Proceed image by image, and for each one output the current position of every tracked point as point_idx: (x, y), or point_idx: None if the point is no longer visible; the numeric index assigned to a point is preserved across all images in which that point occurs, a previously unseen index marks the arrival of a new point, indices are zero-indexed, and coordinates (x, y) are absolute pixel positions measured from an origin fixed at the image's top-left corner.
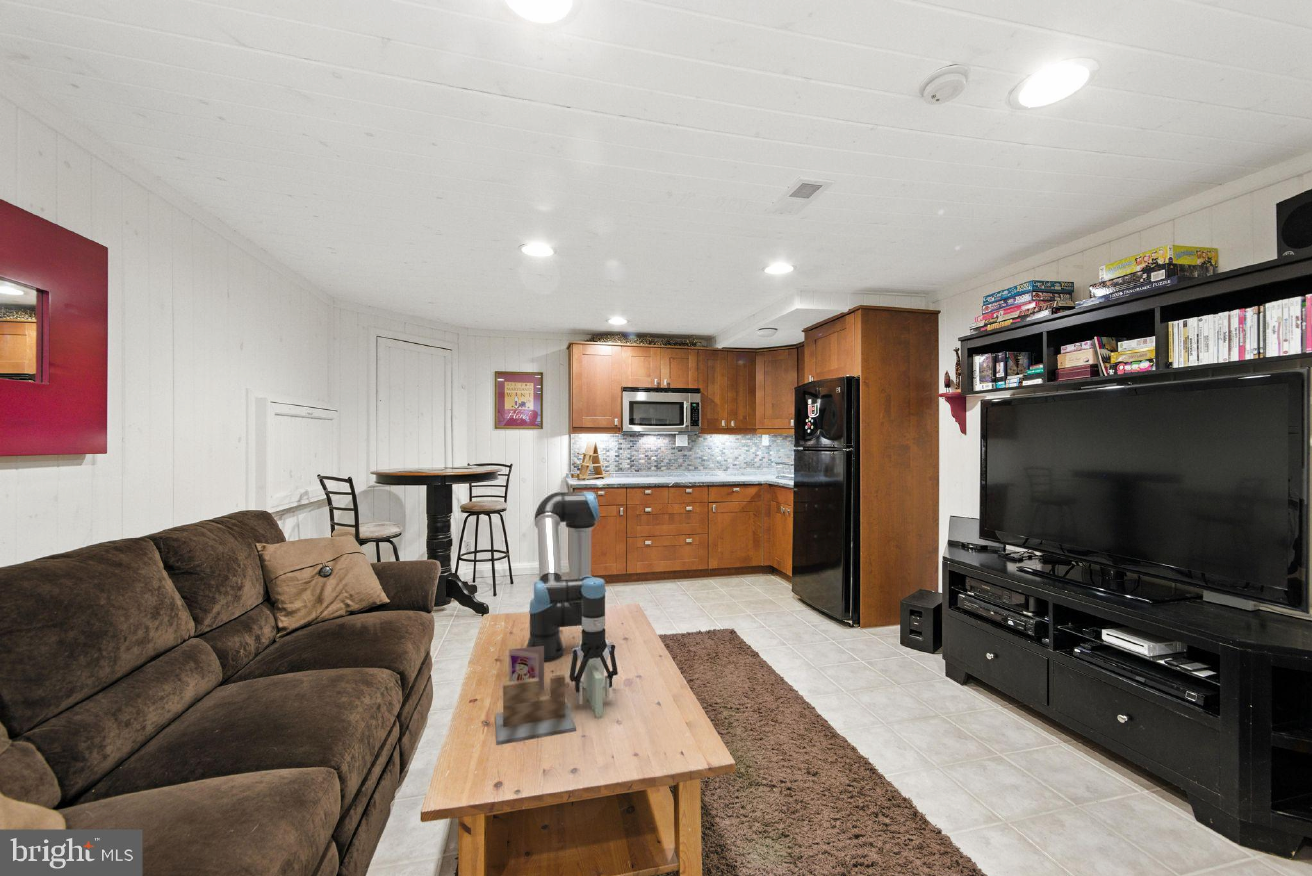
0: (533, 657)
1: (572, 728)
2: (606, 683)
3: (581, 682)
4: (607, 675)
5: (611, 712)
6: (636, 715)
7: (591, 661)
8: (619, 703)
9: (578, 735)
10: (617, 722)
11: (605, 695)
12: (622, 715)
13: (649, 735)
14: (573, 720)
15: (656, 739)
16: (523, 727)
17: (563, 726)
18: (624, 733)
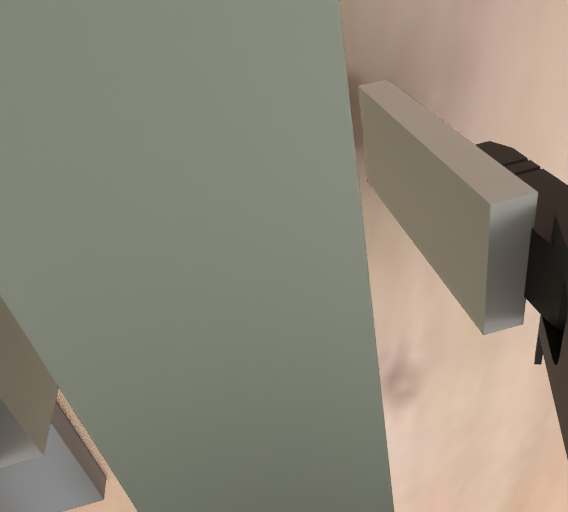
0: None
1: (79, 502)
2: (445, 265)
3: (21, 442)
4: (542, 240)
5: (371, 275)
6: (537, 315)
7: (204, 122)
8: (475, 128)
9: (133, 508)
10: (389, 389)
11: (367, 122)
12: (444, 315)
13: (522, 474)
14: (61, 443)
15: (538, 494)
16: None
17: (1, 503)
18: (405, 472)
